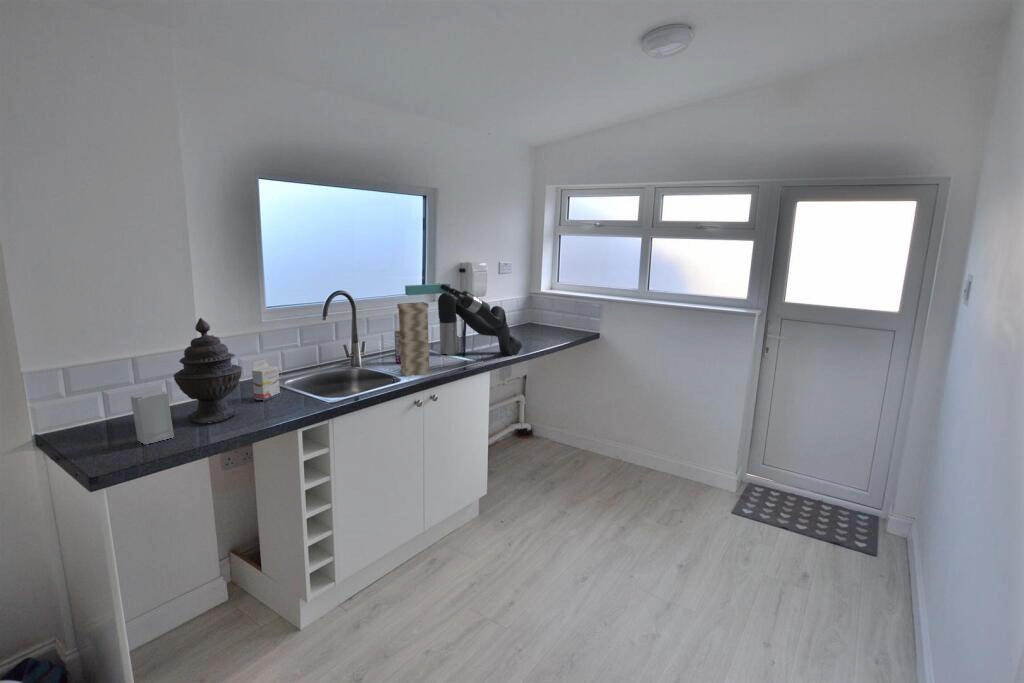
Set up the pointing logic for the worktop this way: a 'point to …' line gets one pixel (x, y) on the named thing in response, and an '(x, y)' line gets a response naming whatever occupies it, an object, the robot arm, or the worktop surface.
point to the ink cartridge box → (265, 379)
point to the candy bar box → (397, 346)
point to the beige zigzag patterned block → (414, 338)
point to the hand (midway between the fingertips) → (439, 285)
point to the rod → (424, 289)
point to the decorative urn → (208, 376)
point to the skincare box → (152, 416)
